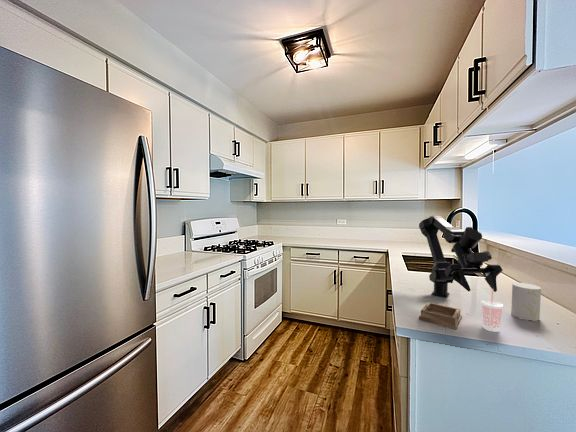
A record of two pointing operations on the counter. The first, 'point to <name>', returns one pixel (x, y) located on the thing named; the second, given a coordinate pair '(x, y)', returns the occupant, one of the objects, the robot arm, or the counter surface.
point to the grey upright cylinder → (526, 301)
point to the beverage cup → (491, 314)
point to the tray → (441, 315)
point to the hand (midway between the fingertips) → (482, 291)
